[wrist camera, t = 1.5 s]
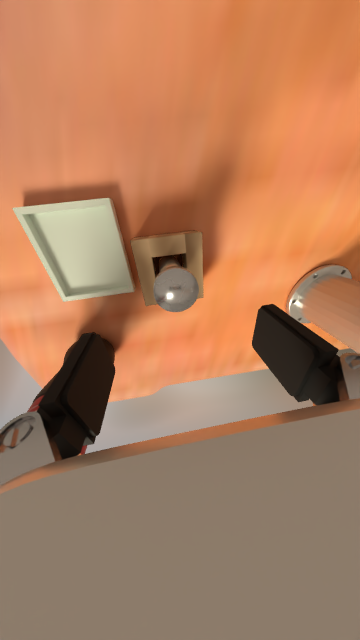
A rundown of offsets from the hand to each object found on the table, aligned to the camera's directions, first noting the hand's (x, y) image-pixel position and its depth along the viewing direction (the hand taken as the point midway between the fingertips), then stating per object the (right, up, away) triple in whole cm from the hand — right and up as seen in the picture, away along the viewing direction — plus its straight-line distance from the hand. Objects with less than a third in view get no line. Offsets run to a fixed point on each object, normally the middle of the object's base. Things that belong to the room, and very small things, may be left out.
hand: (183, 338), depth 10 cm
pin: (-2, +10, +17) cm, 20 cm away
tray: (-14, +11, +14) cm, 23 cm away
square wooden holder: (-2, +10, +17) cm, 20 cm away
